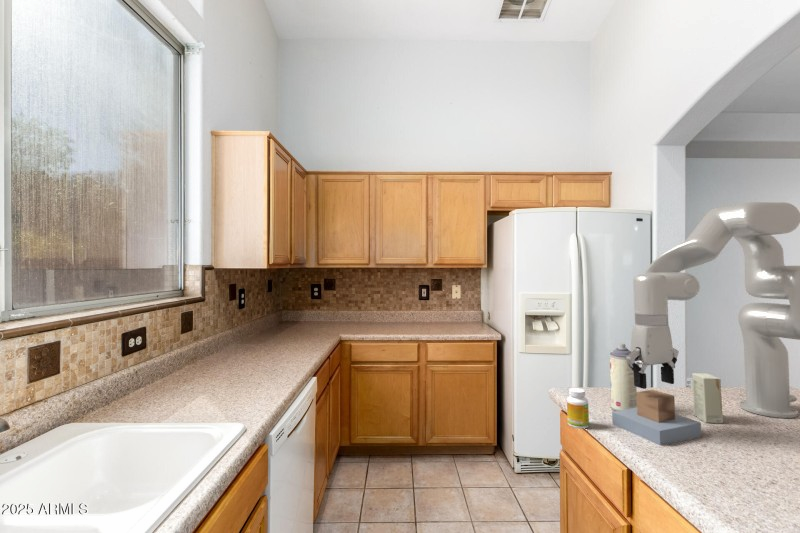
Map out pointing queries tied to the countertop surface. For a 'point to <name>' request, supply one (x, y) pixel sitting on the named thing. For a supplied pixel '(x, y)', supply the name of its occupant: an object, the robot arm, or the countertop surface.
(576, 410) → the supplement bottle
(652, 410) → the walnut cube
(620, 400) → the aerosol can
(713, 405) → the skincare box
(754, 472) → the countertop surface
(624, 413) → the slate base block
